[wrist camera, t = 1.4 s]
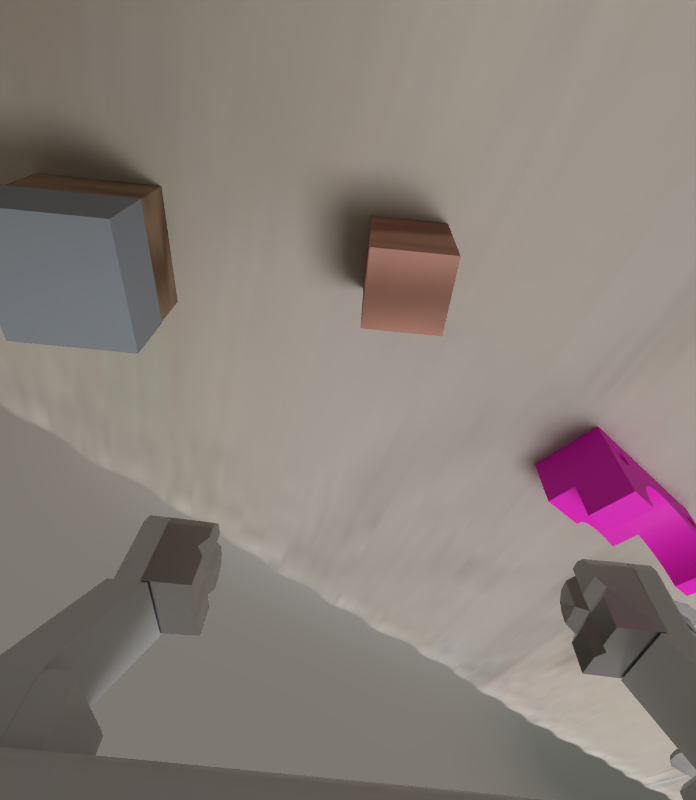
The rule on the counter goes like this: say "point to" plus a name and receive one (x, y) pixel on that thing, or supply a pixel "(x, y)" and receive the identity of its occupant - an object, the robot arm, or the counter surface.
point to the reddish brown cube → (408, 276)
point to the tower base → (152, 218)
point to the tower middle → (75, 270)
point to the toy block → (621, 502)
